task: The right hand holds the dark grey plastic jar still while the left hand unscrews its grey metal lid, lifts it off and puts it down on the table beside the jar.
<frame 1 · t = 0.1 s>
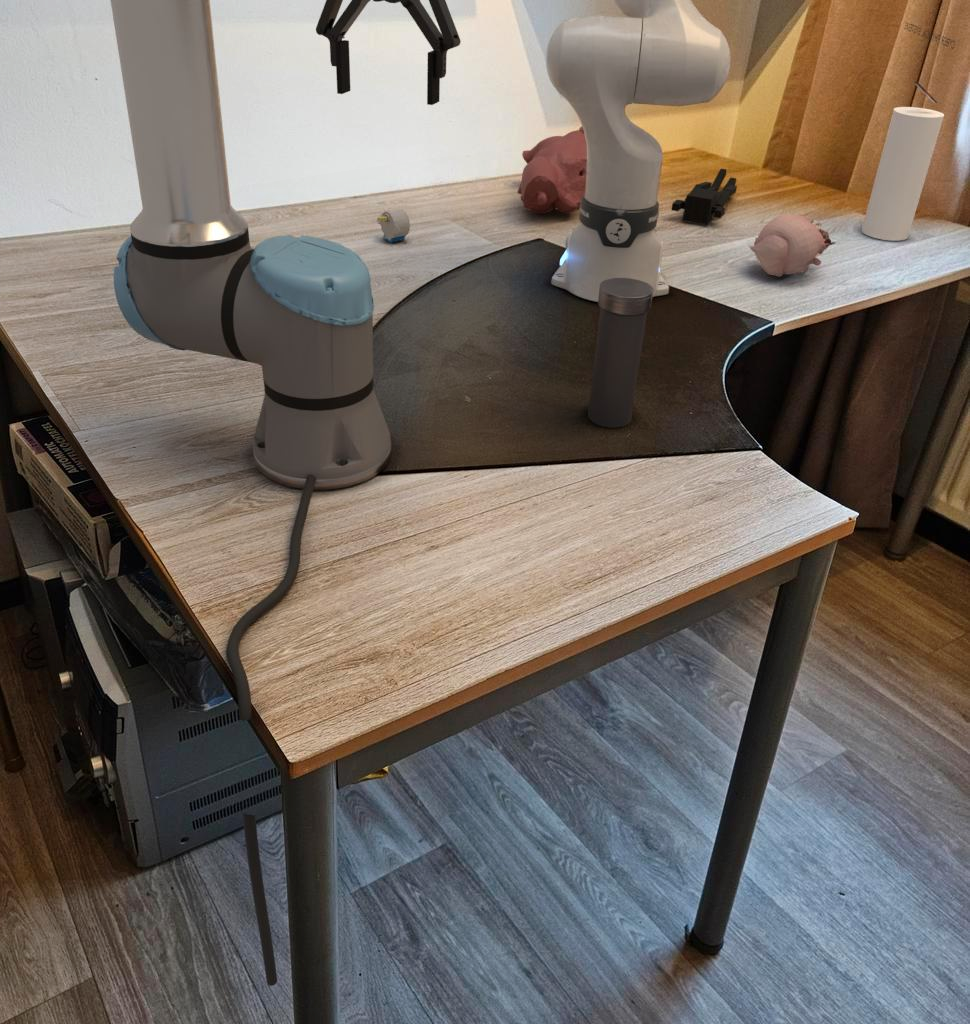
left hand: (388, 97, 135), 28 cm above the table, tool pointing down, fingers open, 13 cm apart
jar: (609, 417, 118), on the table
toy 2: (782, 272, 165), on the table
electric motor: (391, 241, 169), on the table
tall white tube: (880, 233, 185), on the table
ceramic shard: (207, 295, 145), on the table
toy: (710, 205, 196), on the table
lid: (626, 290, 109), point 16 cm above the table, screwed on, not yet turned
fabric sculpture: (573, 204, 192), on the table
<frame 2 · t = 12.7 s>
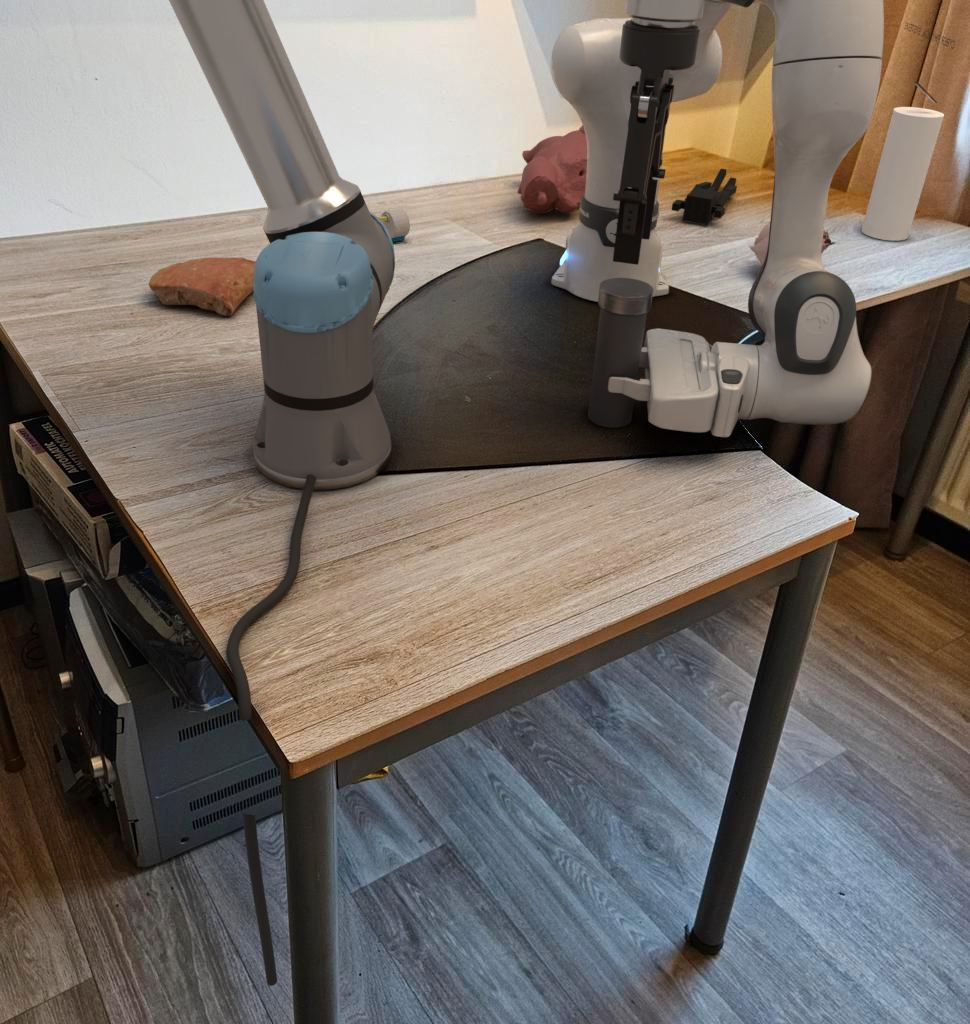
left hand: (631, 248, 107), 21 cm above the table, tool pointing down, fingers open, 8 cm apart
right hand: (608, 370, 115), 6 cm above the table, tool horizontal, fingers closed on jar, 5 cm apart
jar: (609, 417, 118), on the table, touching right hand
everything else where it was.
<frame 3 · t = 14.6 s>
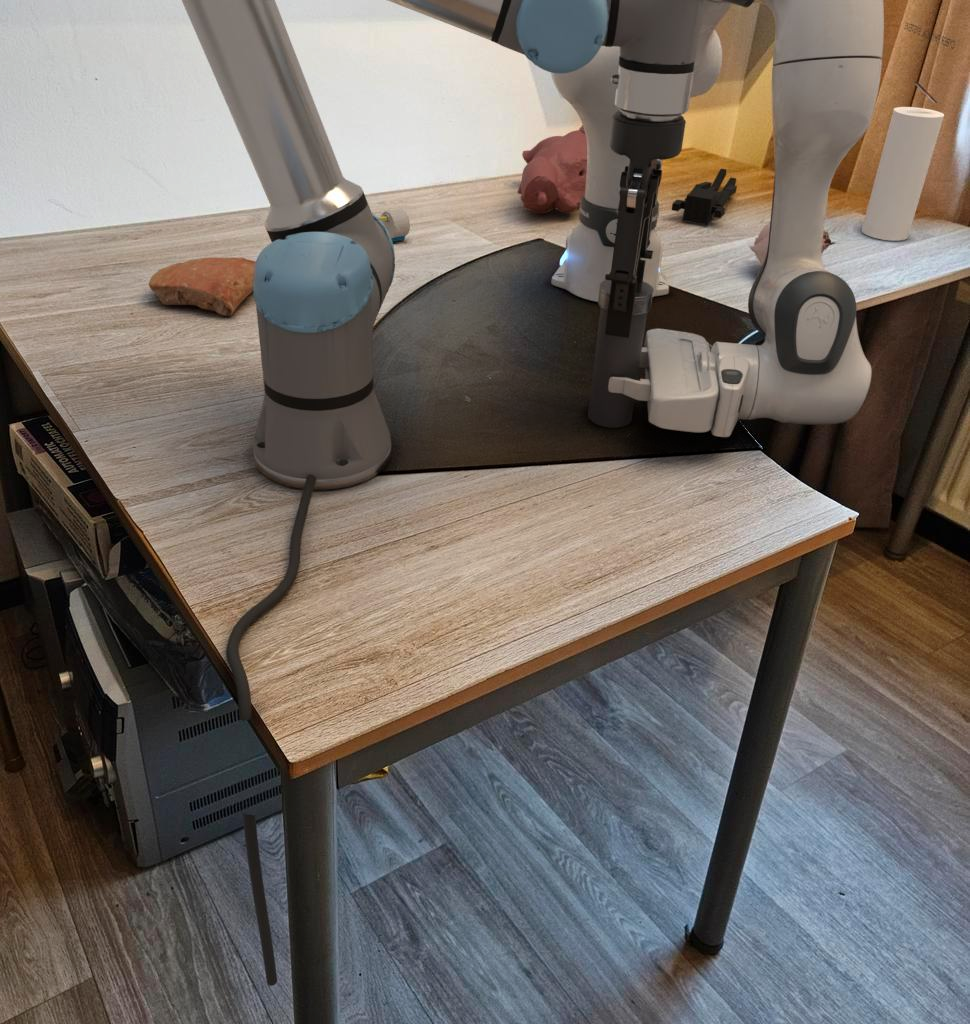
left hand: (622, 323, 112), 12 cm above the table, tool pointing down, fingers closed on lid, 6 cm apart
right hand: (608, 370, 115), 6 cm above the table, tool horizontal, fingers closed on jar, 5 cm apart
jar: (609, 417, 118), on the table, touching right hand
lid: (626, 290, 109), point 16 cm above the table, screwed on, not yet turned, touching left hand
everything else where it was.
when the left hand's fingers open (13 cm above the table, at t = 16.1 s): lid stays where it is, point 17 cm above the table.
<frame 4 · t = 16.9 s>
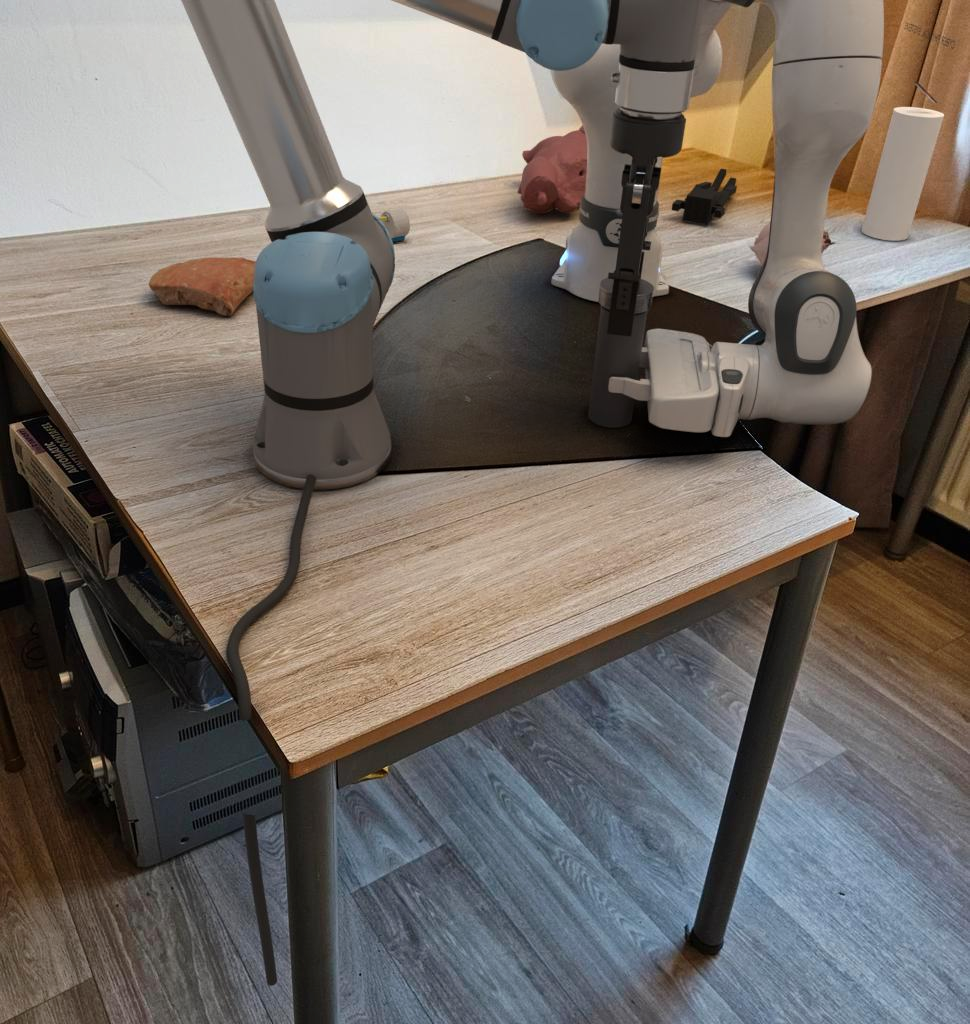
left hand: (622, 318, 111), 13 cm above the table, tool pointing down, fingers open, 8 cm apart
right hand: (608, 370, 115), 6 cm above the table, tool horizontal, fingers closed on jar, 5 cm apart
jar: (609, 417, 118), on the table, touching right hand
lid: (626, 288, 109), point 17 cm above the table, turned 92° so far, risen 0.2 cm, still on its thread
everything else where it was.
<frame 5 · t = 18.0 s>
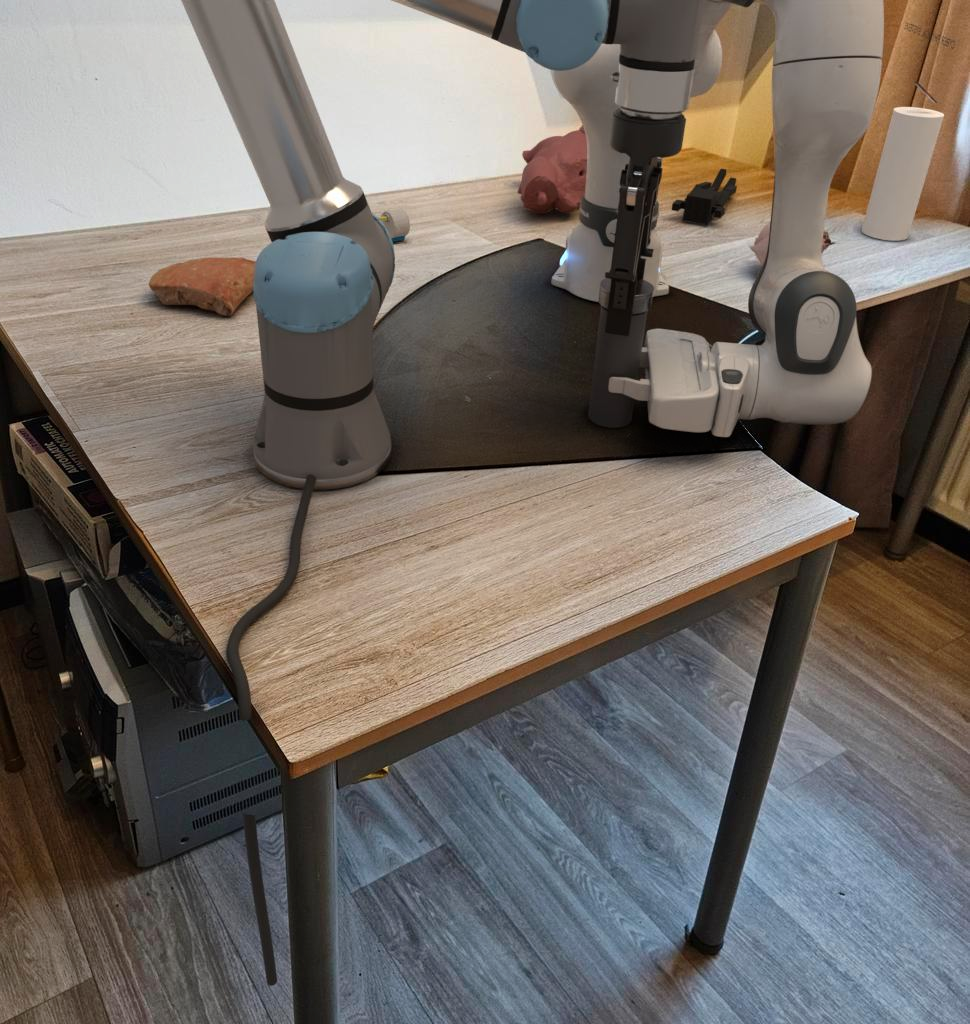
left hand: (622, 321, 111), 13 cm above the table, tool pointing down, fingers closed on lid, 6 cm apart
right hand: (608, 370, 115), 6 cm above the table, tool horizontal, fingers closed on jar, 5 cm apart
jar: (609, 417, 118), on the table, touching right hand
lid: (626, 288, 109), point 17 cm above the table, turned 92° so far, risen 0.2 cm, still on its thread, touching left hand
everything else where it was.
when the left hand's fingers open (0 cm above the table, at t = 24.9 s): lid stays where it is, point 2 cm above the table.
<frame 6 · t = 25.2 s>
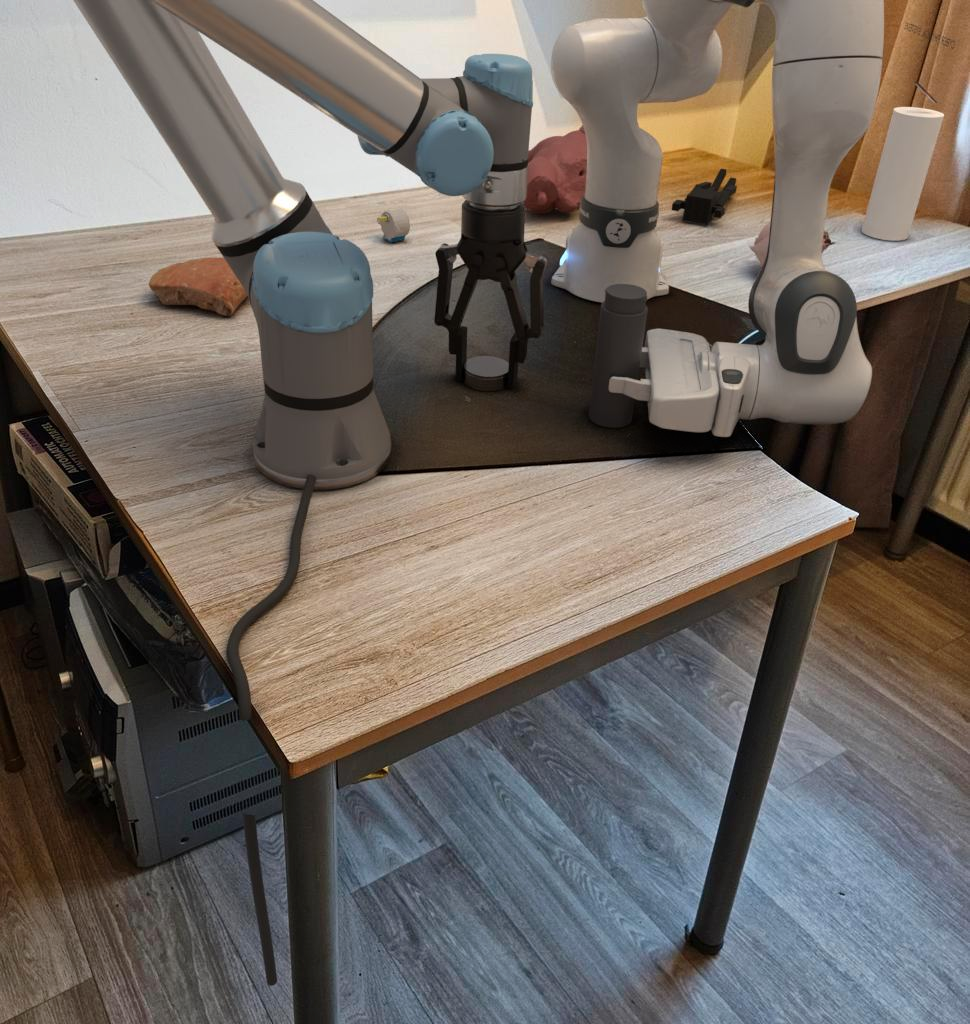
left hand: (486, 380, 125), 0 cm above the table, tool pointing down, fingers open, 6 cm apart
right hand: (608, 370, 115), 6 cm above the table, tool horizontal, fingers closed on jar, 5 cm apart
jar: (610, 417, 118), on the table, touching right hand
lid: (487, 368, 124), point 2 cm above the table, off its thread
everything else where it was.
when the right hand's fingers open (6 cm above the table, at t = 25.9 s): jar stays where it is, on the table.
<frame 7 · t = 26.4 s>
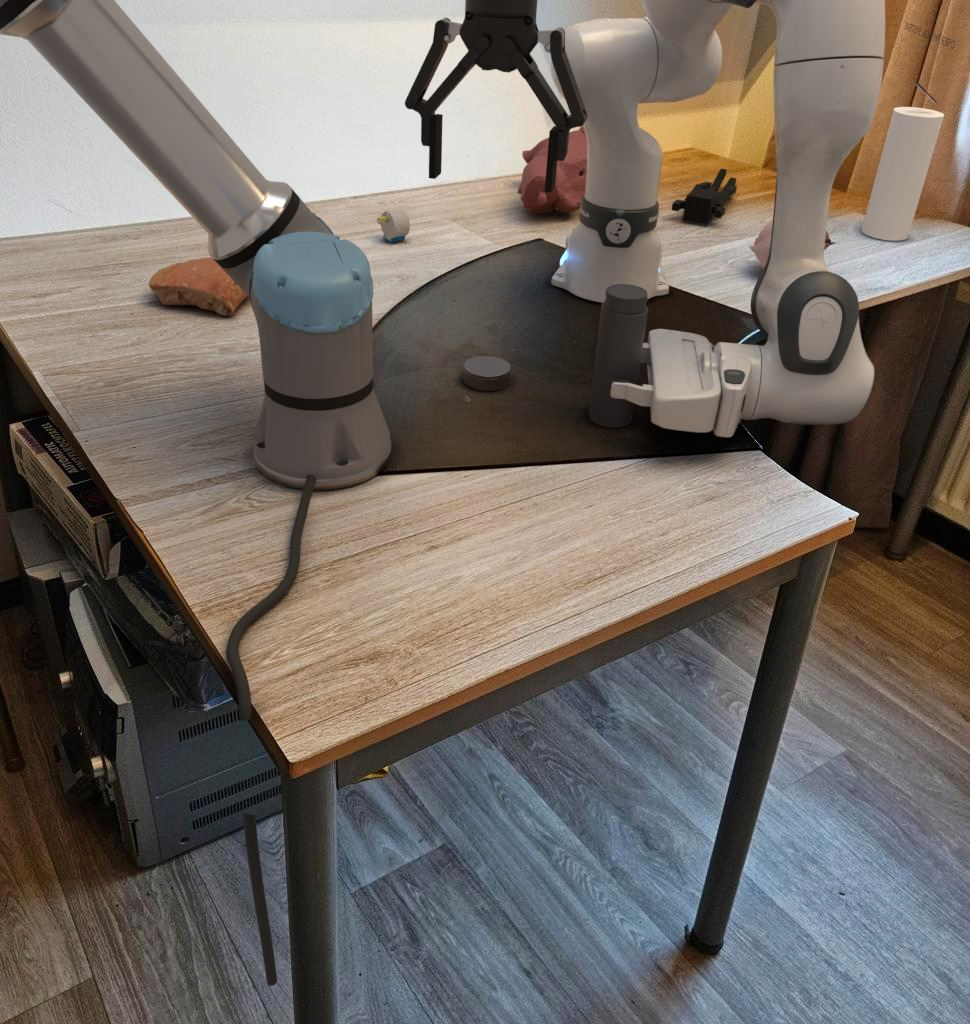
left hand: (491, 182, 111), 25 cm above the table, tool pointing down, fingers open, 13 cm apart
right hand: (610, 370, 115), 6 cm above the table, tool horizontal, fingers open, 8 cm apart
jar: (610, 417, 118), on the table
everything else where it was.
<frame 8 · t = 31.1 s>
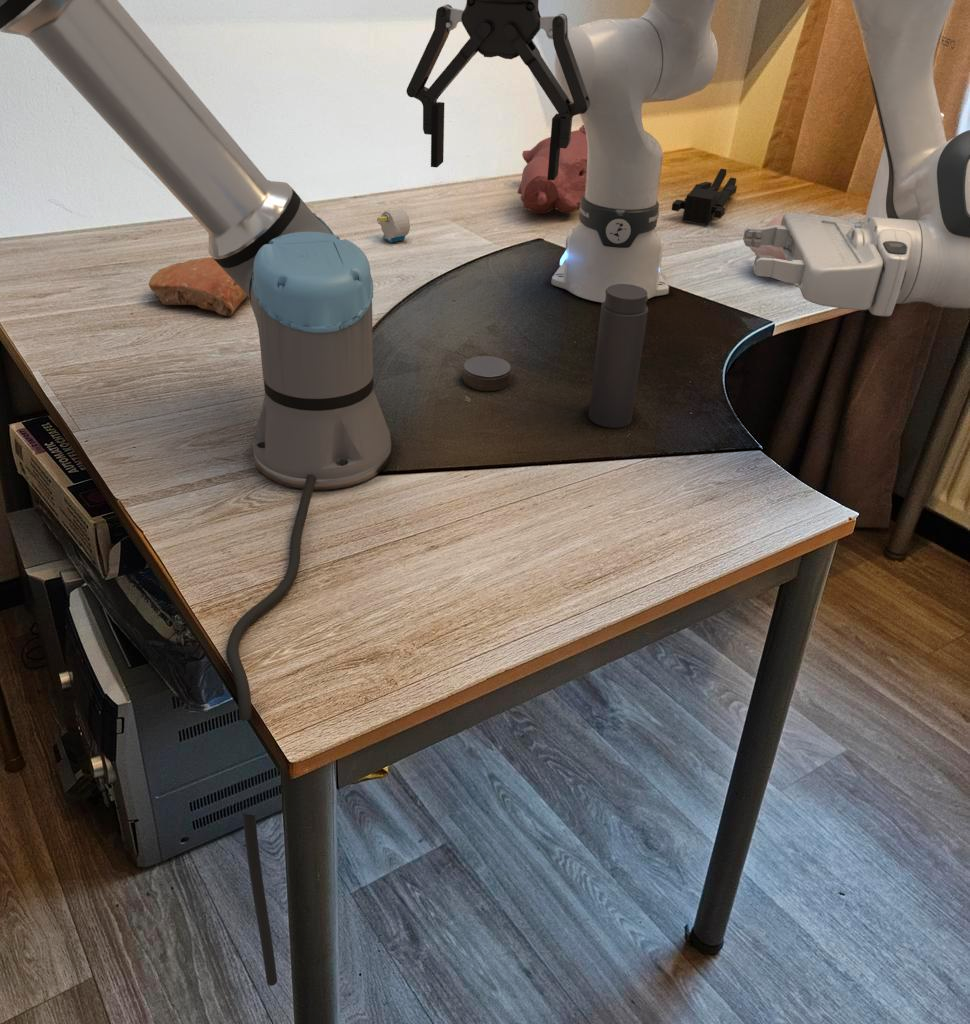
left hand: (494, 171, 110), 27 cm above the table, tool pointing down, fingers open, 13 cm apart
right hand: (749, 250, 105), 22 cm above the table, tool horizontal, fingers open, 8 cm apart
nothing on the table moved.
at the end: lid came off its thread; lid point 1.8 cm above the table; the left hand is holding nothing; the right hand is holding nothing; jar tilted 0°; jar moved 0.1 cm from its start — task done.
